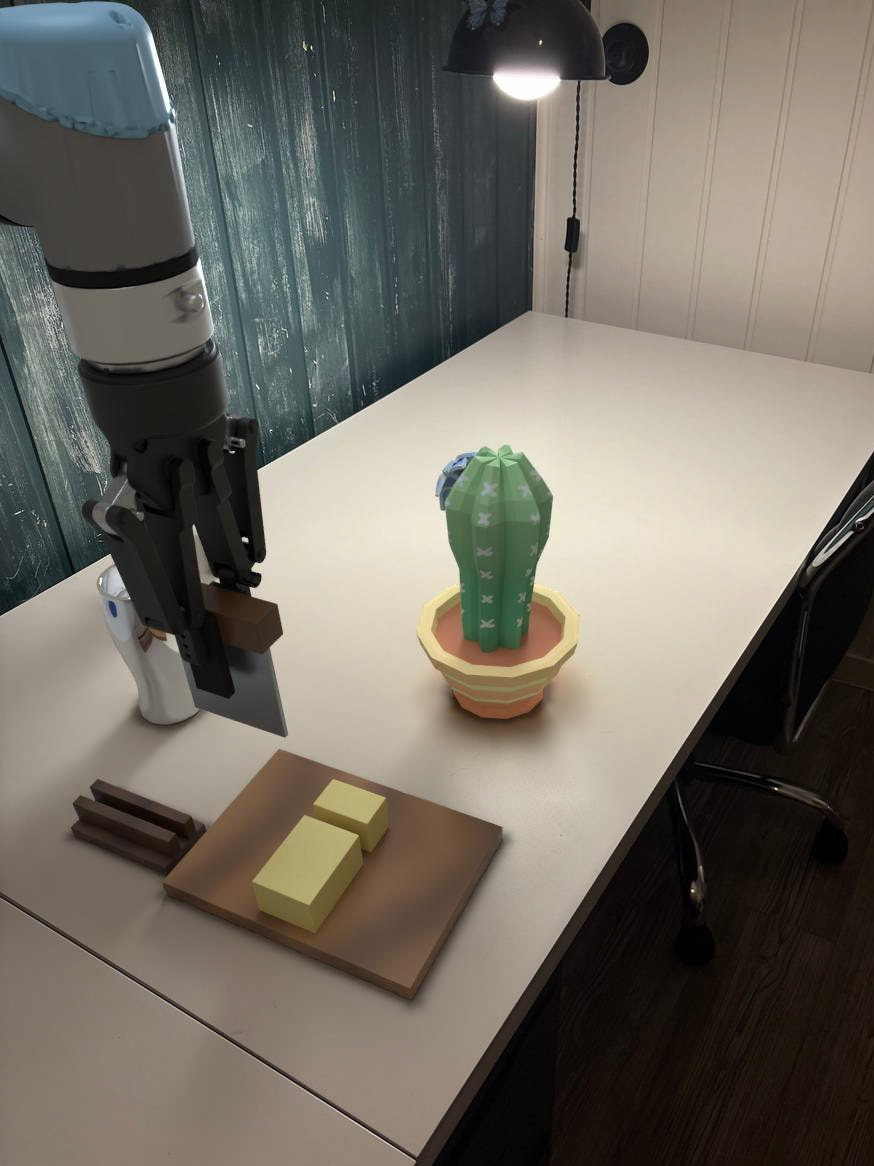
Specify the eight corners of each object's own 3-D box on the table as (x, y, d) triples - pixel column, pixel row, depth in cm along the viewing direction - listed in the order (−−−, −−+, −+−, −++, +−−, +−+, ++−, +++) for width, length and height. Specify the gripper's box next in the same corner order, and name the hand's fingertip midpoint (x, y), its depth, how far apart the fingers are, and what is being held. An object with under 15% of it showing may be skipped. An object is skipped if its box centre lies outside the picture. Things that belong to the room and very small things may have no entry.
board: (165, 893, 75) (161, 882, 74) (281, 759, 86) (278, 748, 85) (411, 1000, 67) (410, 988, 66) (503, 838, 79) (503, 826, 78)
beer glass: (121, 720, 90) (77, 592, 81) (161, 674, 96) (123, 549, 86) (185, 734, 89) (148, 606, 79) (222, 687, 94) (191, 561, 84)
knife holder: (73, 835, 80) (62, 811, 78) (114, 794, 83) (105, 770, 81) (168, 875, 76) (159, 851, 74) (206, 831, 80) (199, 807, 78)
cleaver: (180, 714, 69) (143, 591, 62) (201, 694, 71) (167, 572, 64) (283, 749, 66) (255, 624, 59) (302, 727, 68) (277, 603, 61)
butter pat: (318, 832, 77) (312, 804, 75) (337, 807, 79) (332, 778, 77) (371, 852, 76) (367, 824, 73) (389, 826, 78) (386, 797, 76)
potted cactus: (559, 632, 100) (569, 411, 84) (594, 733, 88) (613, 497, 72) (413, 646, 98) (396, 424, 83) (428, 752, 86) (412, 515, 71)
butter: (259, 910, 72) (251, 881, 69) (310, 843, 77) (304, 814, 74) (315, 934, 70) (309, 905, 68) (363, 864, 75) (359, 835, 73)
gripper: (98, 416, 45) (203, 766, 59) (286, 308, 55) (335, 627, 70) (-17, 391, 47) (110, 732, 62) (184, 293, 58) (251, 603, 73)
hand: (229, 676), depth 66 cm, fingers closed on cleaver, 2 cm apart
